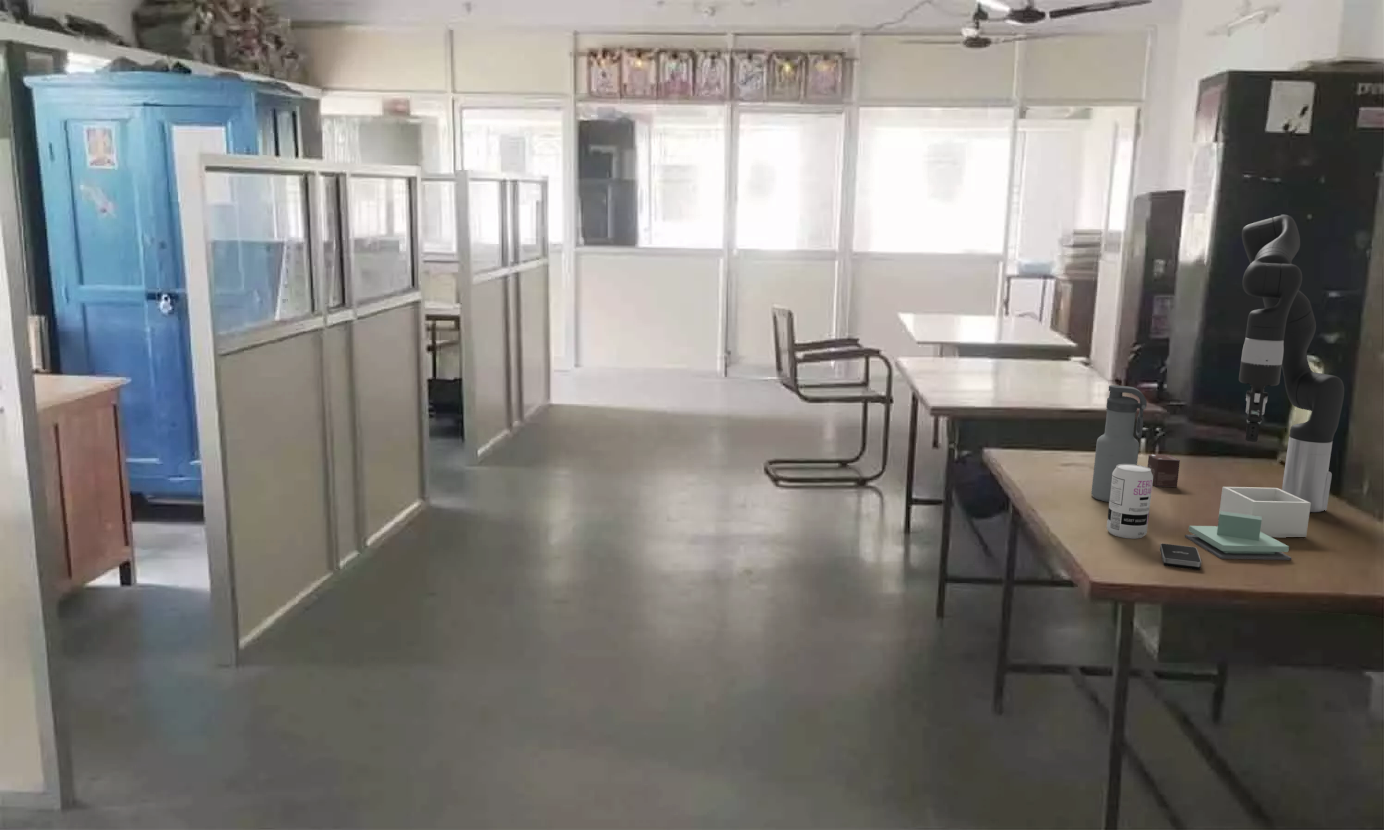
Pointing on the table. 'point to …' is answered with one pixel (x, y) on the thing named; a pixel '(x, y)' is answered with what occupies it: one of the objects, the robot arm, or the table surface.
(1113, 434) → the water bottle
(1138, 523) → the supplement can
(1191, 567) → the external hard drive
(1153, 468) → the box
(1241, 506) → the storage box
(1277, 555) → the mat
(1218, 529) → the lid
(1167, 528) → the table surface
